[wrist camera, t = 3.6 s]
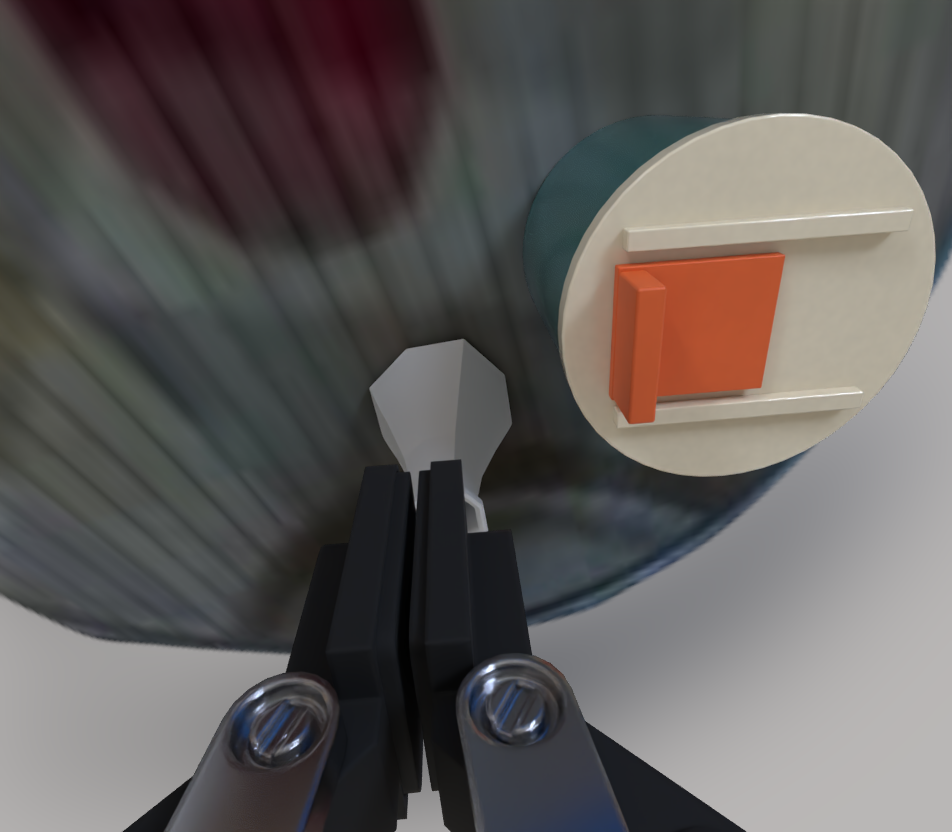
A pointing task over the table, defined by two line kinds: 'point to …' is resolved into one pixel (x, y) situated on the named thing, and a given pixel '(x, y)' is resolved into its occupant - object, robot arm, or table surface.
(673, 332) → the slider
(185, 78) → the table surface
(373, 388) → the flask
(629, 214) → the sliding lid canister
